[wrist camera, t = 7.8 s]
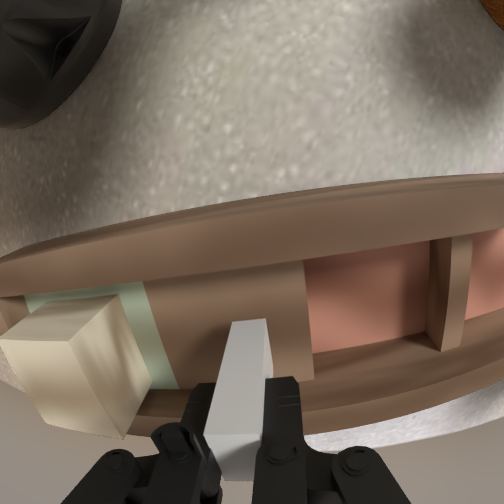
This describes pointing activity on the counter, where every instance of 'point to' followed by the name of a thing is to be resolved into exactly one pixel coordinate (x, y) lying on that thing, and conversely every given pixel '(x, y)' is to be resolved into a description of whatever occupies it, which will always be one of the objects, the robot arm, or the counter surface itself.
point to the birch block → (80, 364)
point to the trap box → (300, 293)
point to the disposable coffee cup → (495, 10)
